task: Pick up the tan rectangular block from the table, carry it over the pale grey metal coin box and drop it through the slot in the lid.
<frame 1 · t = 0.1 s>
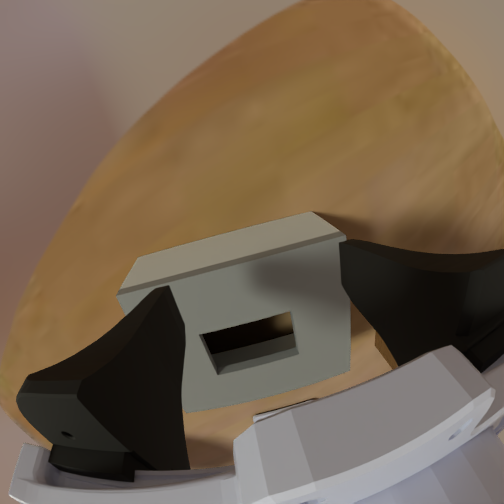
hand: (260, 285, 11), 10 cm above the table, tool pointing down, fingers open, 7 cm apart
coin box: (241, 299, 23), on the table
tan rectangular block: (389, 331, 27), on the table
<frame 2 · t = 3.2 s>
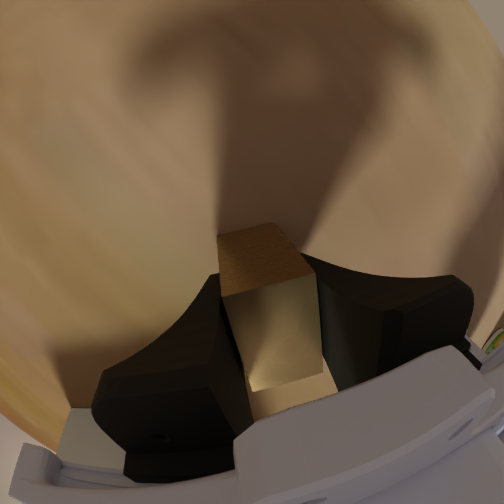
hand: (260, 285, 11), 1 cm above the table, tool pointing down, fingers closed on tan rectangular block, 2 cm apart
coin box: (173, 451, 17), on the table
supplement bottle: (488, 345, 21), on the table
tan rectangular block: (254, 270, 12), on the table, touching gripper
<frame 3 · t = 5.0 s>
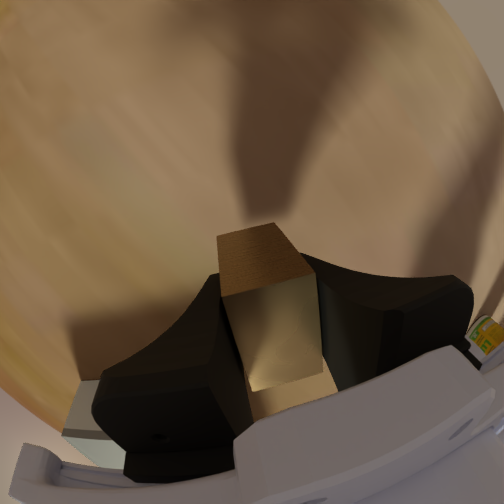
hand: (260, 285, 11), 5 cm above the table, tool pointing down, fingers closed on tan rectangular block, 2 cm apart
coin box: (174, 423, 20), on the table
supplement bottle: (474, 331, 24), on the table
tan rectangular block: (254, 270, 12), point 3 cm above the table, touching gripper
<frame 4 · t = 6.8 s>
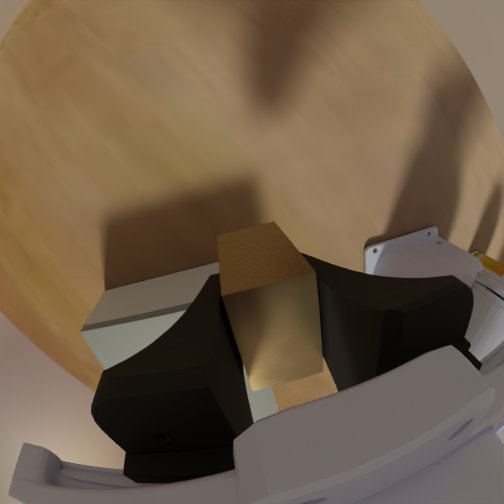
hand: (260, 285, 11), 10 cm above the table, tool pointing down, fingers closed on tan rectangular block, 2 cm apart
coin box: (192, 340, 24), on the table
supplement bottle: (469, 268, 27), on the table
tan rectangular block: (254, 269, 12), point 9 cm above the table, touching gripper
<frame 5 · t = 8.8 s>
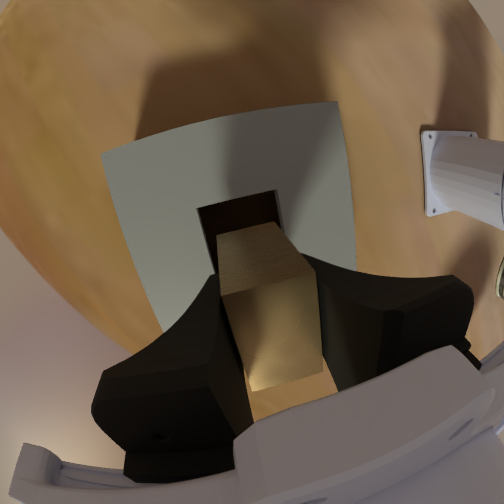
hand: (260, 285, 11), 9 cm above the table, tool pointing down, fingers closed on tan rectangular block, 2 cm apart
coin box: (238, 223, 20), on the table
tan rectangular block: (254, 269, 12), point 8 cm above the table, touching gripper
when the fingers open (7 cm above the table, at t = 10.3 s): tan rectangular block drops 5 cm, resting in coin box.
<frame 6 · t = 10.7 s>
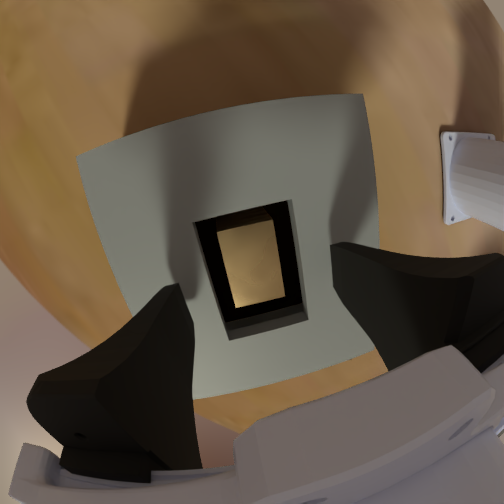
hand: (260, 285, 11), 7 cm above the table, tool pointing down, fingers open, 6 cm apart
coin box: (241, 234, 17), on the table
tan rectangular block: (241, 233, 17), resting in coin box
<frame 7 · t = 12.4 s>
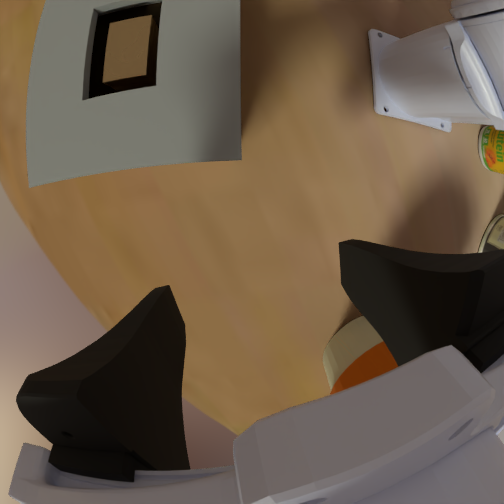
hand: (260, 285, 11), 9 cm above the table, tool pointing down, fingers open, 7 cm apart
reusable coffee cup: (359, 346, 27), on the table
coin box: (145, 69, 15), on the table
coffee can: (493, 248, 26), on the table
supplement bottle: (486, 147, 20), on the table
tan rectangular block: (146, 69, 15), resting in coin box
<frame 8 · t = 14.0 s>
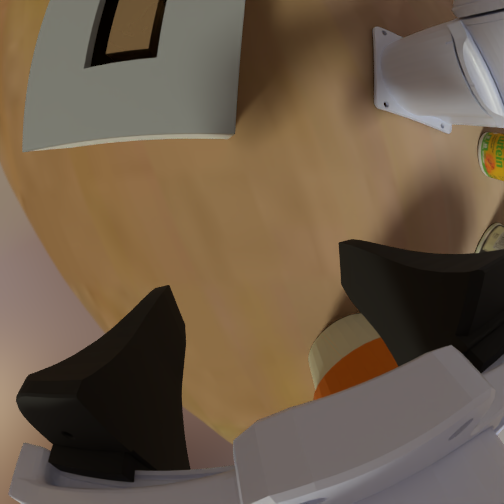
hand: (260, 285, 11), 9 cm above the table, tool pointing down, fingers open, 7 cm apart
reusable coffee cup: (347, 346, 26), on the table
coin box: (149, 49, 14), on the table
coffee can: (488, 257, 26), on the table
supplement bottle: (486, 153, 21), on the table
tan rectangular block: (149, 49, 14), resting in coin box
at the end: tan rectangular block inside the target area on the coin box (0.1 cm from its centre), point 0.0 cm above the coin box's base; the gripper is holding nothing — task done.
